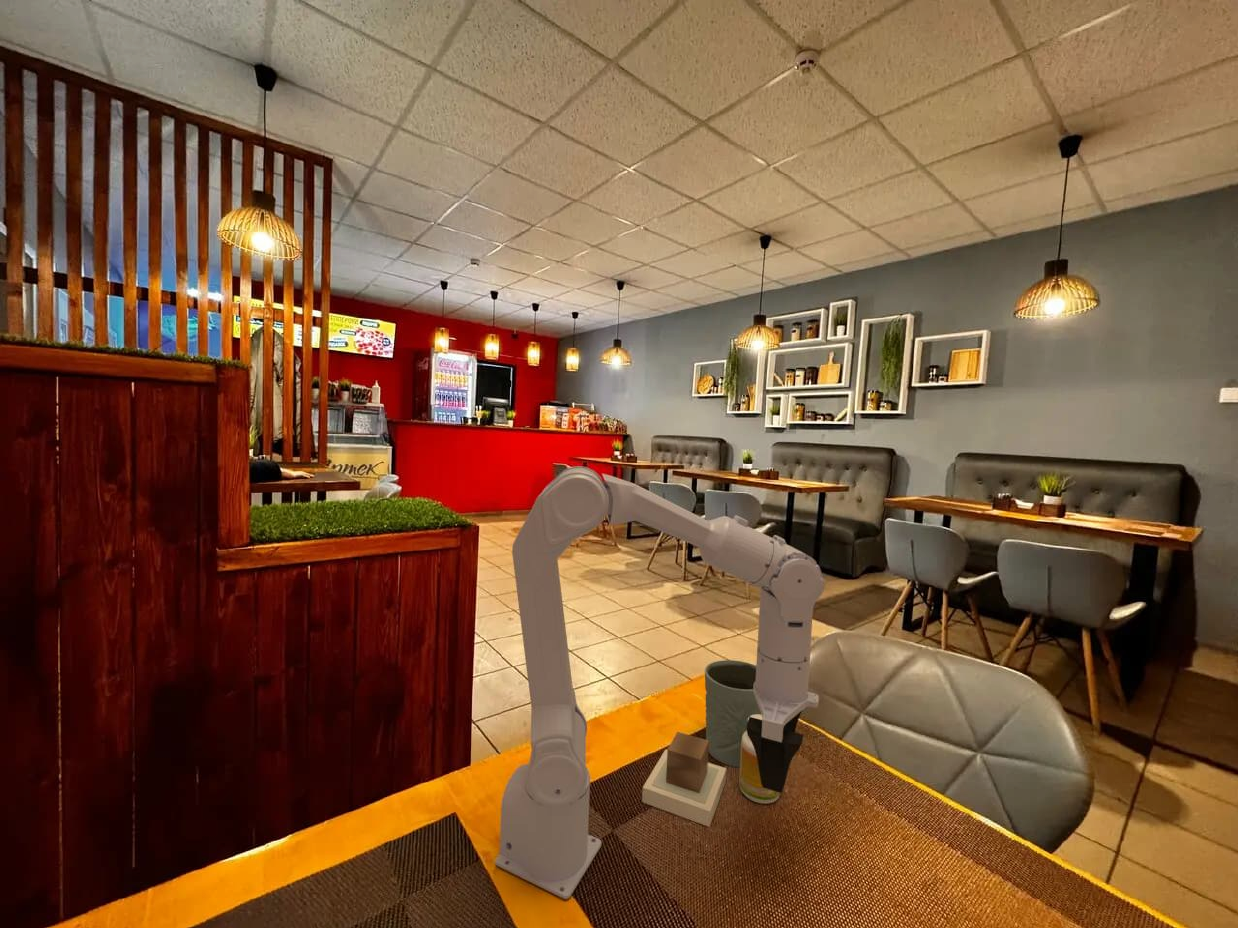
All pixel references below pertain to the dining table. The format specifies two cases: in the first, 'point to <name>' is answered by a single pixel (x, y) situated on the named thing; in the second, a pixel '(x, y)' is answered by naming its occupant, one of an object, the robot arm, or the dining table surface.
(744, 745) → the supplement bottle
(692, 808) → the tile base
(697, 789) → the walnut block
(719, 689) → the green plant pot
